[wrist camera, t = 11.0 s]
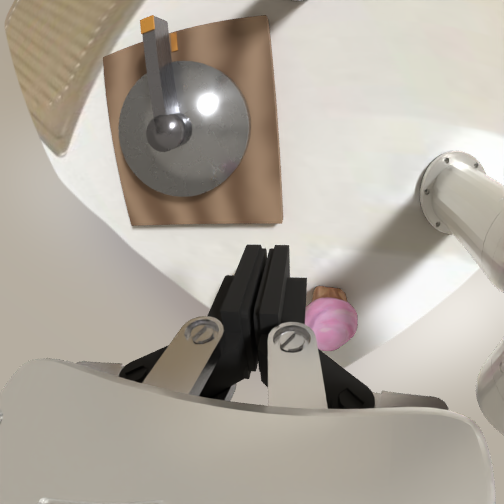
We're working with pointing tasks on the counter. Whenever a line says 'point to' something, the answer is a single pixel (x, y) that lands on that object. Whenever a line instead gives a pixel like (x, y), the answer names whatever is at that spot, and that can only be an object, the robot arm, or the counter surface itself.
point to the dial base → (261, 139)
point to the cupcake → (331, 318)
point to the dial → (182, 121)
